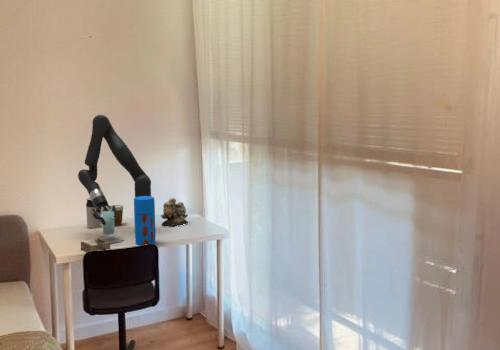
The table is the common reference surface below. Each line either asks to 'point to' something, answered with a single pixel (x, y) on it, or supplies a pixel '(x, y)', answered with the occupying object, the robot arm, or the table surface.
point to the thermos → (144, 220)
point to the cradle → (99, 246)
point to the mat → (112, 240)
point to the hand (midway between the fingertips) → (109, 223)
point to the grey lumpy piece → (174, 213)
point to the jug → (108, 222)
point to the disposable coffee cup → (118, 214)
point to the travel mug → (91, 215)
